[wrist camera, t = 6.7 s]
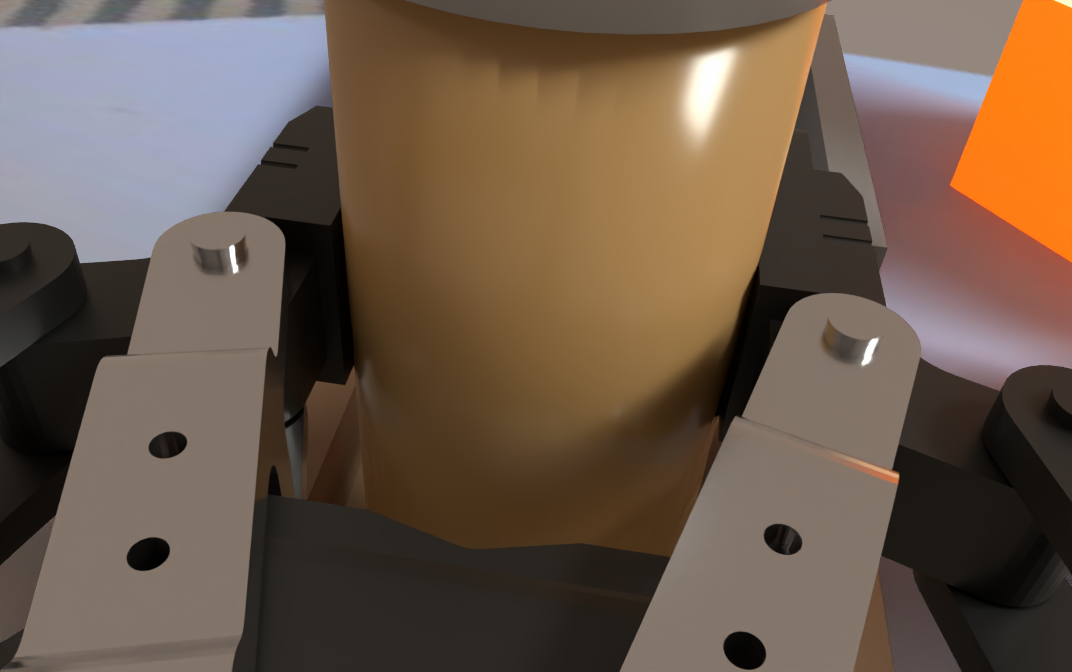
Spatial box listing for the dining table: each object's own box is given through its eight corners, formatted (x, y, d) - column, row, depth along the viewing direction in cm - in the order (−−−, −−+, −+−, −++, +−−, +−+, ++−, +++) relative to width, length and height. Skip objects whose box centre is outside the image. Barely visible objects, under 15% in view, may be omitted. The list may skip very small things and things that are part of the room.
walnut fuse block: (-43, 1022, 12) (-138, 937, 10) (286, 374, 21) (270, 263, 19) (943, 1220, 11) (1050, 1168, 9) (842, 456, 20) (885, 349, 18)
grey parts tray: (315, 277, 24) (303, 170, 22) (433, 55, 34) (433, -31, 32) (849, 351, 23) (887, 247, 21) (810, 101, 33) (833, 15, 31)
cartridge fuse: (323, 751, 14) (130, -372, 5) (407, 495, 17) (371, -415, 9) (658, 811, 13) (1020, -290, 5) (672, 537, 17) (895, -369, 9)
